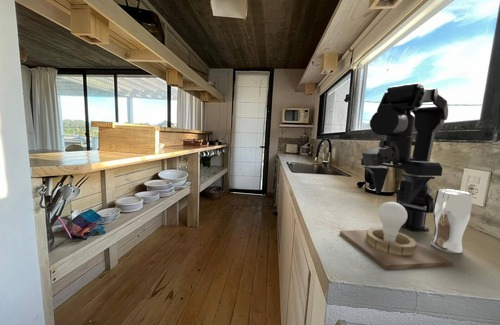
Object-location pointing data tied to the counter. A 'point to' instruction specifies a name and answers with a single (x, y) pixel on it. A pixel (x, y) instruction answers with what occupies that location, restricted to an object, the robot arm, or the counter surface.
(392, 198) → the counter surface
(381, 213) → the lightbulb
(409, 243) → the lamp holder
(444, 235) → the beer glass
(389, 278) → the counter surface
